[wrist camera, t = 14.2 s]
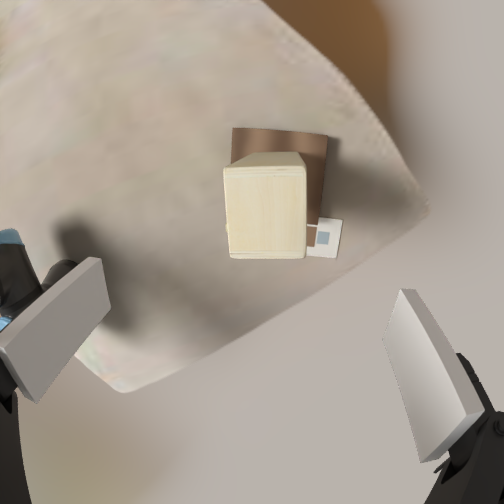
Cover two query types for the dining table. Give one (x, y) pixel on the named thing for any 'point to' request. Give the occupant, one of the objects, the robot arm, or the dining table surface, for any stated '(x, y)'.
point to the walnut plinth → (288, 141)
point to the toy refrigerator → (266, 206)
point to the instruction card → (324, 237)
